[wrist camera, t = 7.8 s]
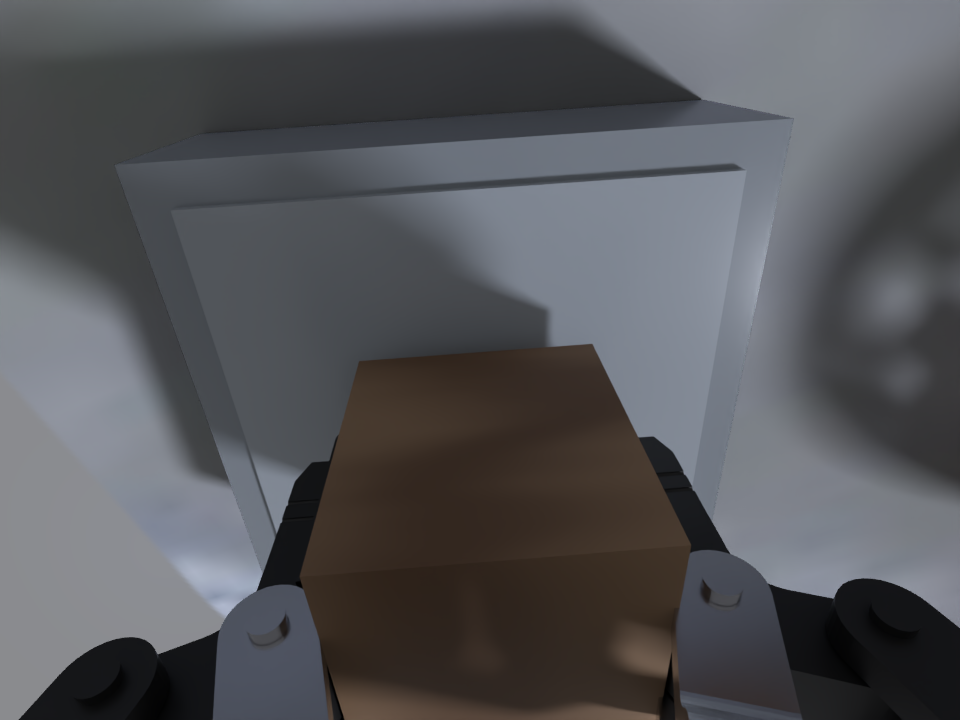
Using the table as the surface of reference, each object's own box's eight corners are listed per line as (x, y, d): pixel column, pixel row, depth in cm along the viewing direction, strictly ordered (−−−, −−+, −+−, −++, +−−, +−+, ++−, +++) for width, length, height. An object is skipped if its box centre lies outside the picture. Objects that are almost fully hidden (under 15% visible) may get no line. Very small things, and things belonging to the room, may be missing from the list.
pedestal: (703, 99, 13) (800, 120, 10) (654, 480, 19) (703, 581, 16) (201, 133, 13) (108, 167, 10) (307, 508, 19) (274, 617, 15)
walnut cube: (592, 343, 11) (691, 545, 6) (583, 514, 13) (653, 750, 9) (358, 361, 11) (298, 577, 6) (390, 529, 13) (361, 776, 9)
